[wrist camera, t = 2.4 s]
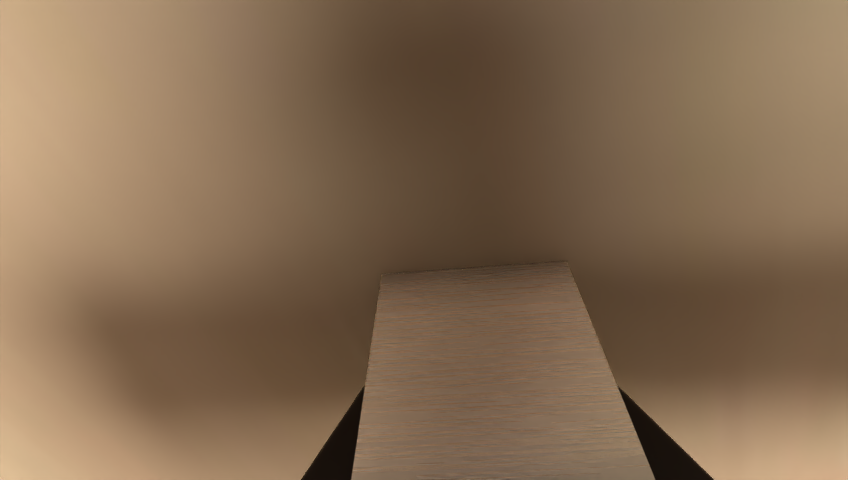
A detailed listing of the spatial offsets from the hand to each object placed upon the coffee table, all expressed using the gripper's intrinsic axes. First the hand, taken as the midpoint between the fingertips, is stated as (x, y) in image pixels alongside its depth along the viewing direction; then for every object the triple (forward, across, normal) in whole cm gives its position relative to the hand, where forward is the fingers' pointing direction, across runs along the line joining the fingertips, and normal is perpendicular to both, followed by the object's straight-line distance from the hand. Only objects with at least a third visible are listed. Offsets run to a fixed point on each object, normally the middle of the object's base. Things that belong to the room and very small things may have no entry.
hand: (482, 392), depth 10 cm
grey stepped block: (+1, 0, +2) cm, 2 cm away
